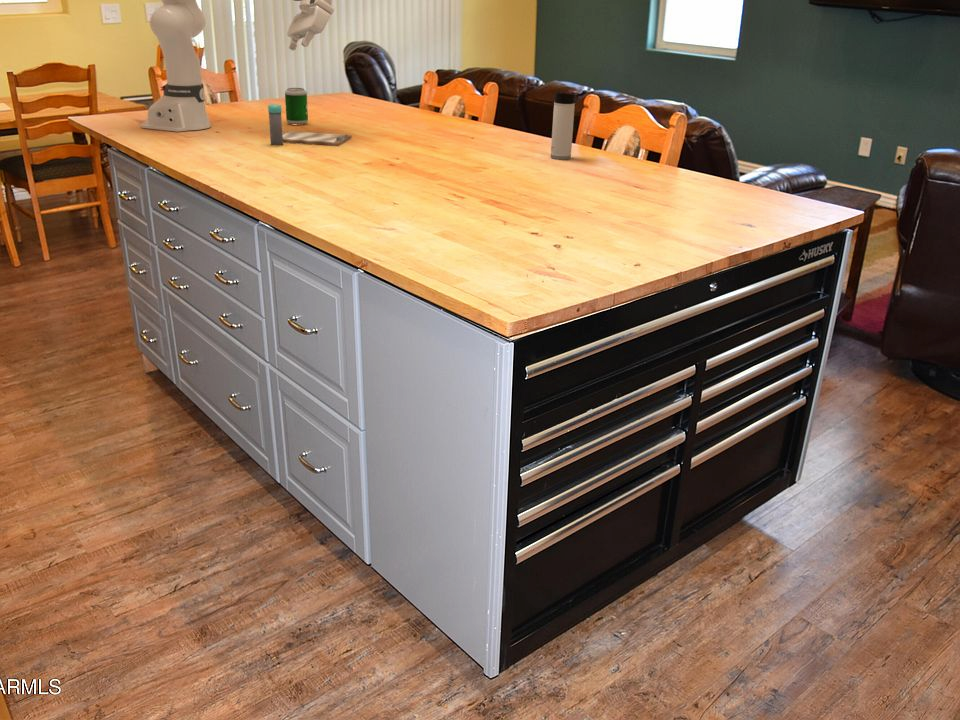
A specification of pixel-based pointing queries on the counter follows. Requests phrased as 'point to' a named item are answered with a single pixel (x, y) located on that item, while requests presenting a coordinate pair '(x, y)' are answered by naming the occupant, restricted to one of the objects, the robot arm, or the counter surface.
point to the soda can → (296, 106)
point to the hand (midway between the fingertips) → (297, 47)
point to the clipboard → (315, 138)
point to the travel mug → (562, 126)
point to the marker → (275, 124)
